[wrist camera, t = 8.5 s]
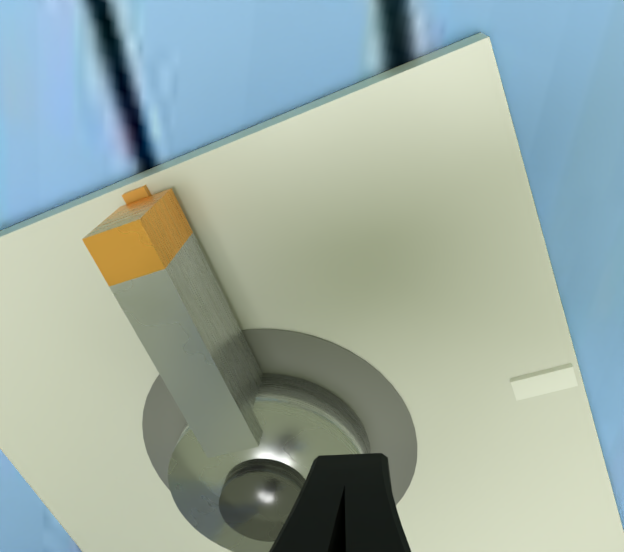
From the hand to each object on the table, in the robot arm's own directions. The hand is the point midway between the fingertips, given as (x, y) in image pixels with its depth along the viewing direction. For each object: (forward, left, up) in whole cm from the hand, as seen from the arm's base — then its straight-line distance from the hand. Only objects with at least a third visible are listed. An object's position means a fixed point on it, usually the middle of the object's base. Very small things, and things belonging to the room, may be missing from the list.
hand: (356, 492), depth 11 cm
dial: (-5, -2, -8) cm, 10 cm away
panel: (-5, -5, -10) cm, 12 cm away
